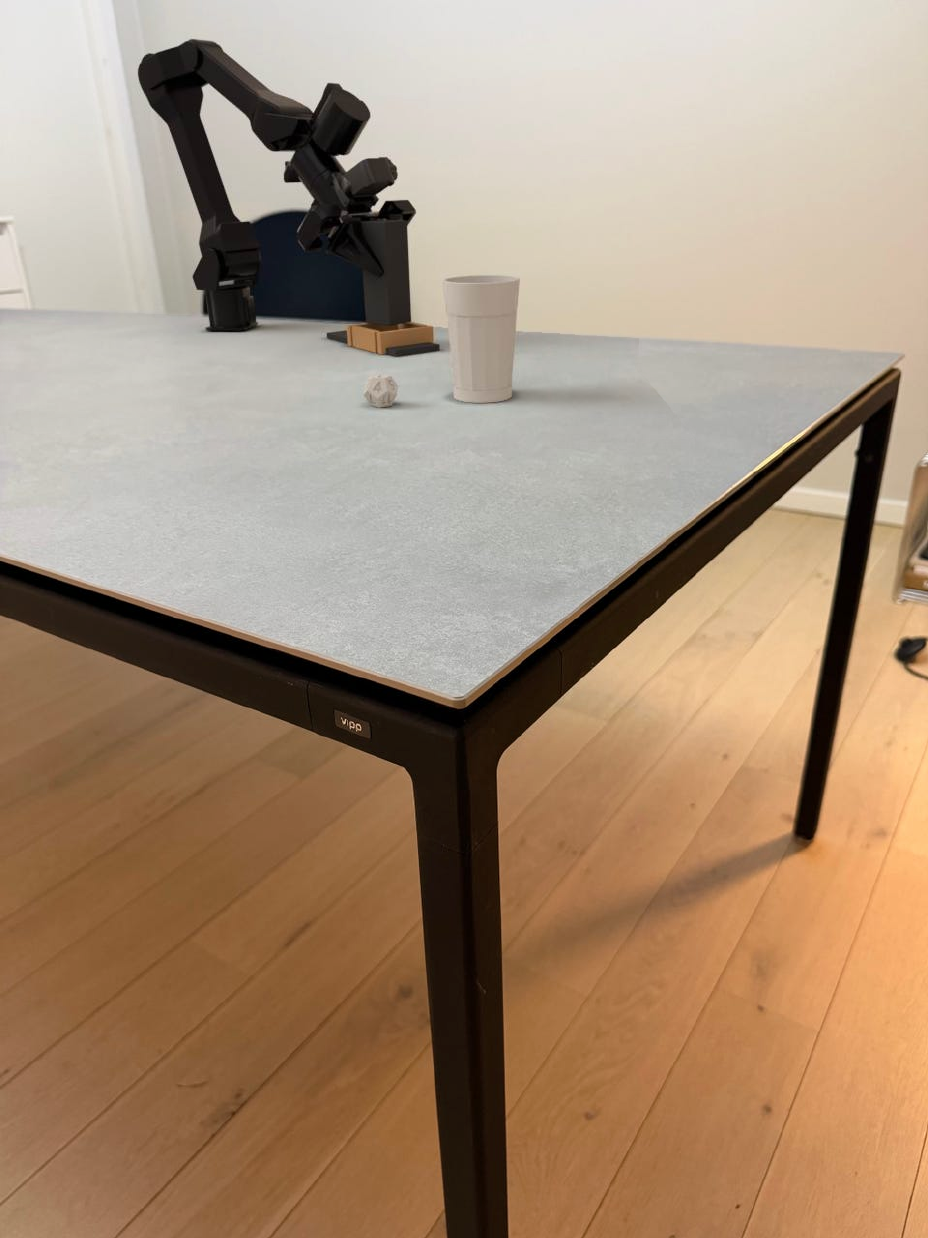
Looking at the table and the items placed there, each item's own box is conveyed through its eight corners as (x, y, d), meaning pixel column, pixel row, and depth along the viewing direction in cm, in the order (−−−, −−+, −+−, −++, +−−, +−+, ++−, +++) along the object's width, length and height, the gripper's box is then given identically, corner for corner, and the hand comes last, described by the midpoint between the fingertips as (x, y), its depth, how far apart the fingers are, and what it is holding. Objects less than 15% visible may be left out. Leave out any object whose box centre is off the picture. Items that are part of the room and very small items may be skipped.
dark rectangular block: (365, 323, 128) (359, 221, 122) (387, 319, 131) (382, 219, 125) (390, 325, 125) (384, 222, 119) (411, 321, 128) (407, 220, 123)
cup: (446, 388, 103) (443, 275, 98) (517, 387, 103) (518, 273, 98) (445, 405, 96) (441, 284, 91) (521, 403, 96) (521, 282, 91)
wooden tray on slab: (322, 338, 137) (320, 319, 135) (371, 332, 141) (370, 313, 140) (390, 357, 122) (389, 335, 121) (444, 349, 126) (443, 328, 125)
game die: (401, 401, 98) (400, 372, 97) (394, 409, 95) (392, 379, 94) (369, 400, 99) (367, 372, 98) (361, 408, 96) (359, 379, 94)
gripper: (303, 133, 113) (376, 232, 112) (402, 135, 126) (467, 223, 125) (267, 203, 121) (334, 296, 120) (364, 197, 134) (425, 281, 133)
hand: (393, 272), depth 124 cm, fingers closed on dark rectangular block, 4 cm apart
